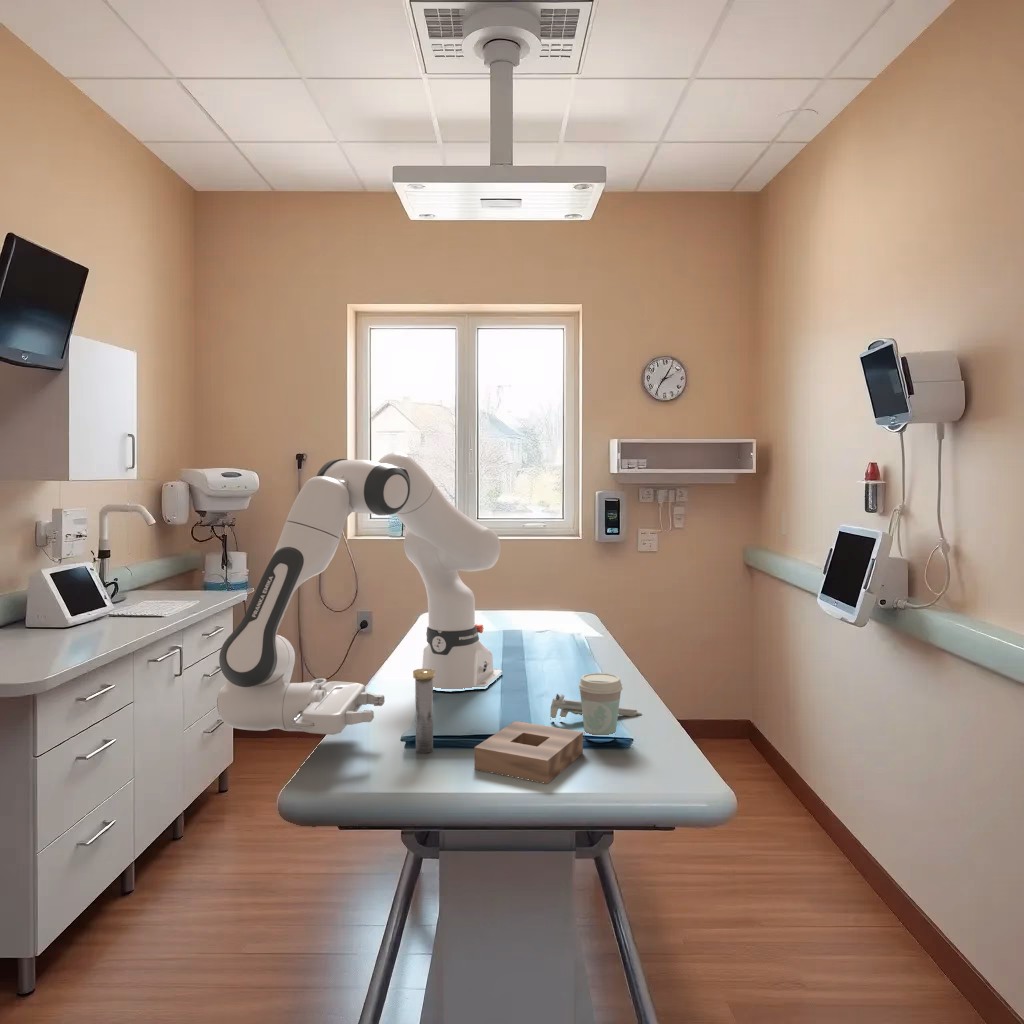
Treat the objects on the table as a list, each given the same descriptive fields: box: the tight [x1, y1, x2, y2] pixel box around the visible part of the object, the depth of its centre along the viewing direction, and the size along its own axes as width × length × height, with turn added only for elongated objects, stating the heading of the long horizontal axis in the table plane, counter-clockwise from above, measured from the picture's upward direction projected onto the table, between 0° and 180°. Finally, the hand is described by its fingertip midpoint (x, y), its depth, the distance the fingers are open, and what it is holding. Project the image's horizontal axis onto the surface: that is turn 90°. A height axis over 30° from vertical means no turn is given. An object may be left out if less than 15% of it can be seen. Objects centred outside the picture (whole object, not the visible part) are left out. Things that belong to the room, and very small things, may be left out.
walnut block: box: [473, 720, 584, 784], centre depth 147 cm, size 16×14×4 cm
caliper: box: [550, 693, 643, 718], centre depth 171 cm, size 20×1×6 cm, turn 107°
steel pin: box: [412, 668, 435, 754], centre depth 152 cm, size 4×4×15 cm
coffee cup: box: [577, 672, 624, 735], centre depth 159 cm, size 8×8×12 cm
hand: (378, 708), depth 153 cm, fingers open, 8 cm apart
